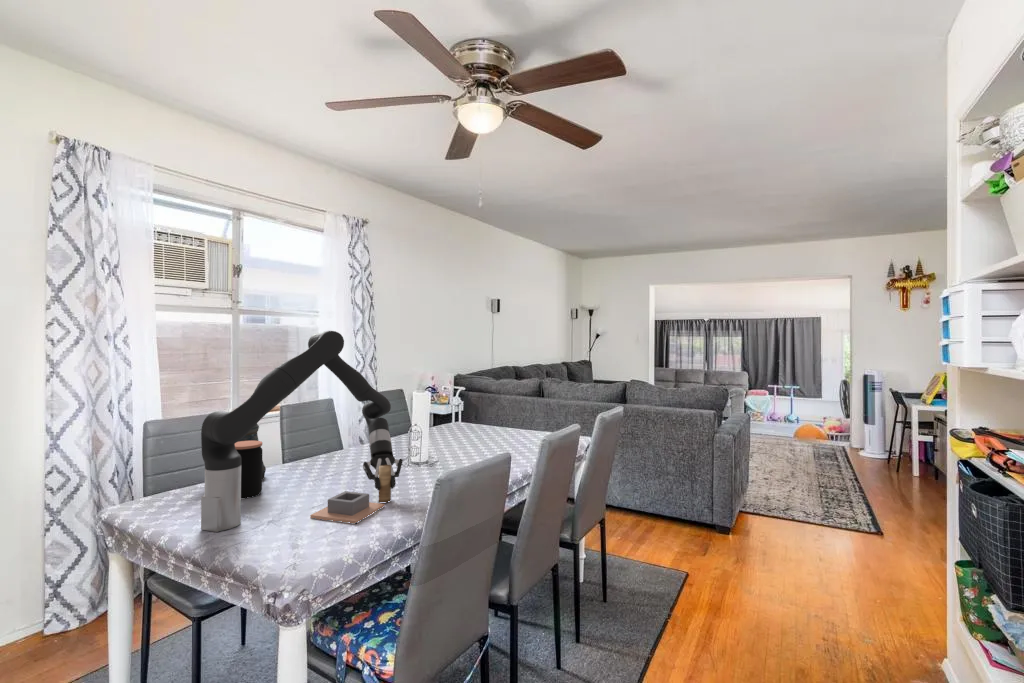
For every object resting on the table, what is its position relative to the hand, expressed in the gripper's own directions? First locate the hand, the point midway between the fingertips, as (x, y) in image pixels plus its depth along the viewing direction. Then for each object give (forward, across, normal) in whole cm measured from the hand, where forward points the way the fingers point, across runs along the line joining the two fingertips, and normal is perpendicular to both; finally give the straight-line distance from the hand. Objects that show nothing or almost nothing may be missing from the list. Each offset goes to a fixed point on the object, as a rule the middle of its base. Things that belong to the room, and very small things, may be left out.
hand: (385, 488), depth 165 cm
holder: (+7, -12, 0) cm, 14 cm away
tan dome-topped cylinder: (+2, 0, +5) cm, 5 cm away
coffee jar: (-16, -44, +23) cm, 52 cm away
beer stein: (-30, -48, +37) cm, 68 cm away
